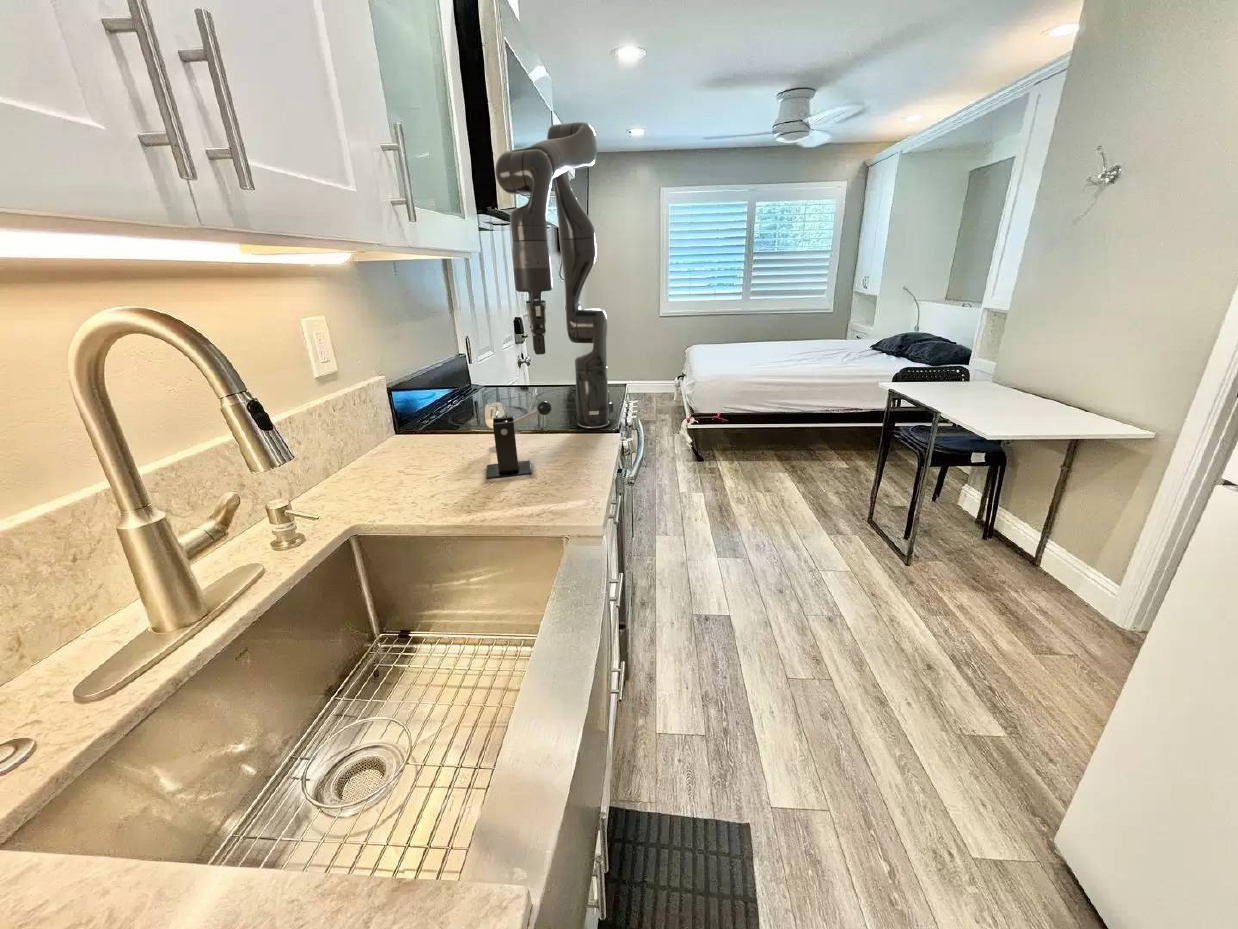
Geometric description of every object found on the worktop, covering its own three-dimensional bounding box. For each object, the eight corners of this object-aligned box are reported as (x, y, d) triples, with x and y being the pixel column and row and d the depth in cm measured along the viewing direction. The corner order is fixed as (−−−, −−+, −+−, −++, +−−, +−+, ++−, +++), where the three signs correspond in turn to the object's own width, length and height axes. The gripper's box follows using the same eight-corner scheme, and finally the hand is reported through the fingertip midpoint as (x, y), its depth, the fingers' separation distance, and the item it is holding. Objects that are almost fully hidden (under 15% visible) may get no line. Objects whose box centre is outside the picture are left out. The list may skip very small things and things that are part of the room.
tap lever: (553, 409, 112) (546, 397, 111) (554, 413, 109) (548, 400, 108) (501, 434, 111) (494, 422, 110) (501, 439, 109) (494, 426, 107)
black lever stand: (530, 464, 118) (525, 413, 113) (532, 477, 111) (526, 423, 106) (487, 469, 116) (480, 417, 111) (486, 482, 109) (479, 427, 104)
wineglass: (505, 453, 126) (500, 408, 121) (484, 452, 127) (478, 407, 123) (514, 445, 131) (509, 402, 127) (494, 444, 132) (488, 401, 128)
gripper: (554, 265, 93) (560, 356, 100) (547, 266, 106) (553, 347, 112) (514, 266, 92) (523, 359, 98) (512, 266, 104) (520, 349, 111)
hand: (539, 352), depth 105 cm, fingers open, 3 cm apart
